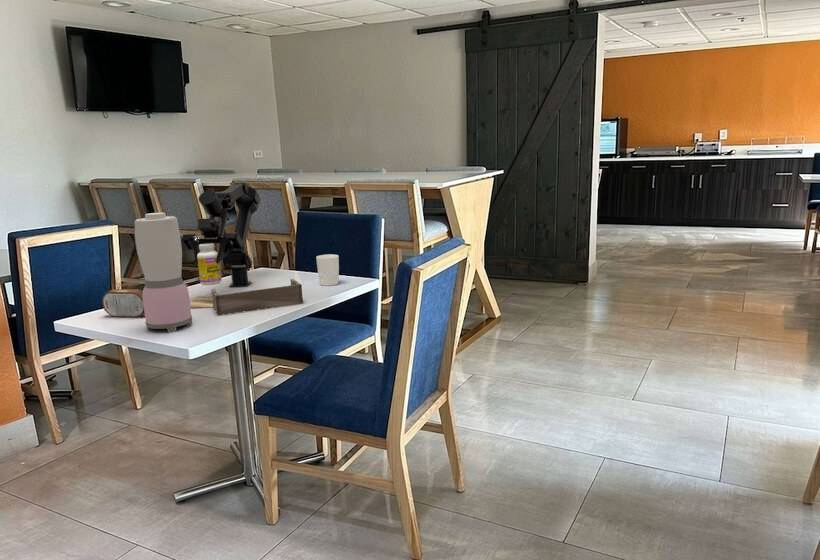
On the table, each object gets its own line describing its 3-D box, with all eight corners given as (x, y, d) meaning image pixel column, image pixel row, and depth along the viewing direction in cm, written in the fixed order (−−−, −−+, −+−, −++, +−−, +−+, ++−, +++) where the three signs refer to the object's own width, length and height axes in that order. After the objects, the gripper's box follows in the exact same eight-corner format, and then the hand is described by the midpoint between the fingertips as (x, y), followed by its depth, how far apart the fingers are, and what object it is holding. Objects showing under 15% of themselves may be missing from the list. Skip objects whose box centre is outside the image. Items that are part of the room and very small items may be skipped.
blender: (202, 323, 177) (189, 211, 171) (166, 335, 167) (151, 216, 160) (165, 317, 185) (151, 210, 178) (129, 328, 175) (113, 215, 168)
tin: (152, 315, 189) (149, 288, 187) (146, 318, 186) (142, 291, 184) (109, 314, 192) (105, 288, 190) (102, 317, 189) (98, 290, 187)
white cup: (335, 286, 217) (333, 258, 215) (314, 286, 219) (312, 258, 217) (343, 281, 224) (341, 254, 222) (323, 281, 226) (321, 254, 224)
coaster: (198, 297, 209) (198, 296, 209) (239, 296, 208) (239, 295, 208) (181, 308, 195) (181, 307, 195) (225, 307, 194) (225, 306, 194)
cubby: (213, 307, 195) (211, 289, 193) (294, 296, 205) (293, 278, 203) (217, 315, 185) (215, 296, 184) (303, 303, 195) (301, 284, 194)
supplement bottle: (207, 286, 196) (202, 246, 193) (196, 284, 200) (191, 245, 197) (226, 282, 200) (221, 243, 198) (215, 280, 205) (210, 242, 202)
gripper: (179, 209, 200) (168, 249, 192) (235, 207, 198) (226, 247, 190) (193, 229, 209) (182, 268, 201) (246, 228, 207) (238, 267, 199)
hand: (206, 262), depth 197 cm, fingers closed on supplement bottle, 7 cm apart
